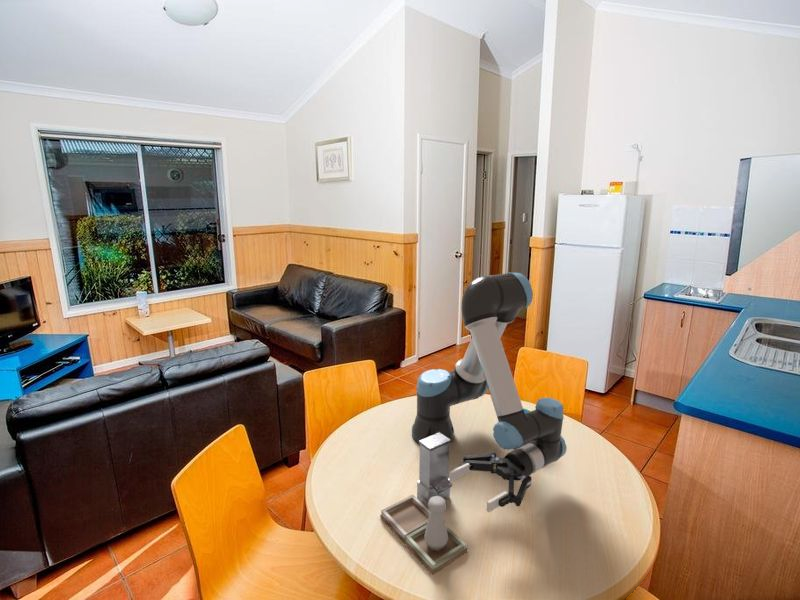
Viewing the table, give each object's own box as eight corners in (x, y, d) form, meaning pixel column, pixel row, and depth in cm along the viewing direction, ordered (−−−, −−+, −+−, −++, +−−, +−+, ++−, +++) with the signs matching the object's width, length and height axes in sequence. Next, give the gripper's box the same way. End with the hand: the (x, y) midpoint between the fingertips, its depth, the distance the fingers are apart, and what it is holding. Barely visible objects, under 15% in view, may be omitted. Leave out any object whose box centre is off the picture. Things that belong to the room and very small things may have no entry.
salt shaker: (445, 557, 105) (447, 511, 101) (422, 551, 106) (422, 506, 103) (449, 538, 110) (451, 494, 107) (427, 533, 112) (428, 490, 108)
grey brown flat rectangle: (380, 517, 118) (380, 510, 118) (412, 501, 125) (412, 494, 124) (432, 574, 101) (432, 566, 101) (467, 552, 107) (467, 544, 107)
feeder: (417, 499, 125) (417, 440, 121) (438, 488, 130) (439, 431, 125) (433, 514, 120) (435, 454, 115) (455, 502, 124) (458, 443, 119)
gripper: (560, 498, 115) (504, 534, 103) (490, 451, 134) (436, 476, 122) (563, 474, 113) (507, 507, 101) (491, 429, 132) (437, 453, 120)
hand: (468, 491), depth 112 cm, fingers open, 13 cm apart
